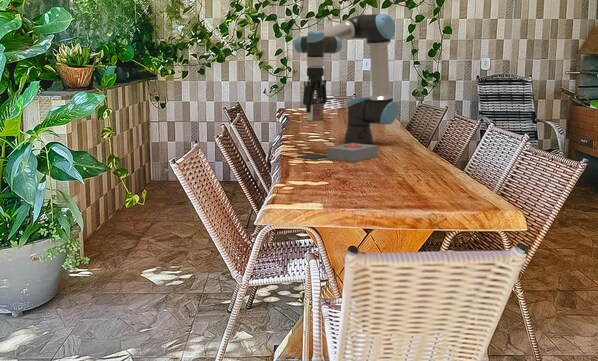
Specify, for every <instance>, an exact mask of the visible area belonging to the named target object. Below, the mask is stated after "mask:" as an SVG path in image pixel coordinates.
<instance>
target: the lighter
mask: <svg viewBox="0 0 598 361" xmlns="http://www.w3.org/2000/svg"><path fill="white" fill-rule="evenodd" d="M319 101H322V98H315V97H313V100H312V104H311V105H313V120H307V112H305V113H306V118H305V121H306V122H323V121H324V120H325V119H324V106H325V104H320V102H319Z"/></svg>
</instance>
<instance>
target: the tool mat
mask: <svg viewBox="0 0 598 361" xmlns="http://www.w3.org/2000/svg"><path fill="white" fill-rule="evenodd" d="M296 158H298V159H302V160H303V159H304V160H310V161H311V160H313V161H317V160H323V159H327V154H321V153H315V152H314V153H308V154H302V155H298V156H296Z"/></svg>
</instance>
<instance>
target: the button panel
mask: <svg viewBox="0 0 598 361" xmlns="http://www.w3.org/2000/svg"><path fill="white" fill-rule="evenodd" d="M347 144H357V143H344V144H339V145H333V146H329V147H326V155H327V158H326V160H333V161H339V162H340V161H341V162H348V163H355V162H359V161H364V160H368V159H374V158H377V157H379V153H378V152H379V149H378V148H379V146H378V145H374V144H358V148H348V147H347Z"/></svg>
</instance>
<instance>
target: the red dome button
mask: <svg viewBox="0 0 598 361" xmlns="http://www.w3.org/2000/svg"><path fill="white" fill-rule="evenodd" d="M346 144H347V147H348V148H358V144H349V143H346Z"/></svg>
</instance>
